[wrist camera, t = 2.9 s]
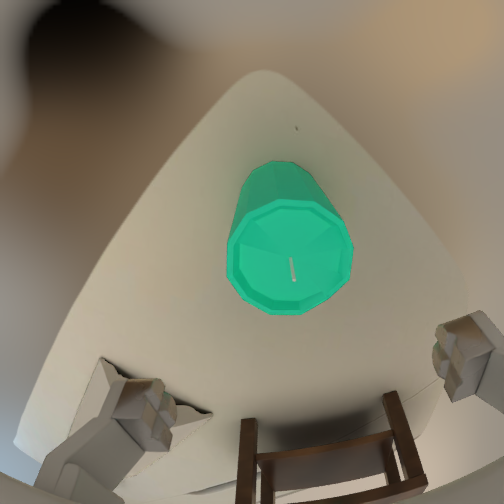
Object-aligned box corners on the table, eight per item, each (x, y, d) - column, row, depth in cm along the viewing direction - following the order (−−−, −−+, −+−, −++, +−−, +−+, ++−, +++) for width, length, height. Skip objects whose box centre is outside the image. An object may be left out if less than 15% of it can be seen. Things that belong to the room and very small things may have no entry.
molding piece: (116, 433, 52) (136, 475, 47) (66, 441, 44) (84, 486, 38) (178, 353, 40) (213, 416, 35) (100, 358, 32) (130, 437, 26)
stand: (397, 389, 33) (428, 484, 20) (388, 440, 39) (406, 515, 26) (240, 418, 36) (232, 517, 23) (263, 463, 41) (261, 539, 29)
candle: (250, 242, 25) (240, 345, 14) (231, 169, 23) (202, 227, 12) (324, 228, 24) (366, 322, 14) (311, 153, 22) (358, 196, 11)
